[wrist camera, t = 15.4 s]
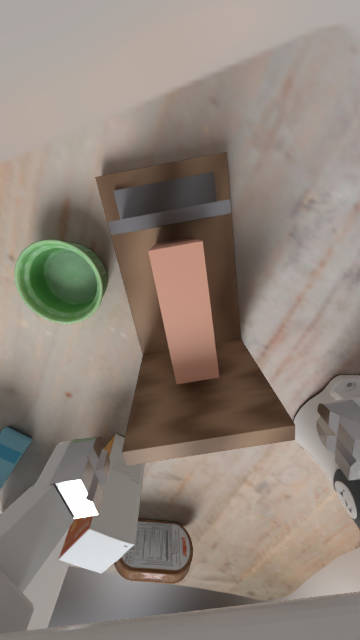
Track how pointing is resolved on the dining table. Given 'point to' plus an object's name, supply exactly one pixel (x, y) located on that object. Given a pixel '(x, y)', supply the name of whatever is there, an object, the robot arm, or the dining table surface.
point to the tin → (157, 553)
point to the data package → (11, 451)
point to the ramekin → (60, 280)
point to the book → (185, 308)
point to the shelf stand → (156, 367)
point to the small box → (108, 517)
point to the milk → (46, 587)
